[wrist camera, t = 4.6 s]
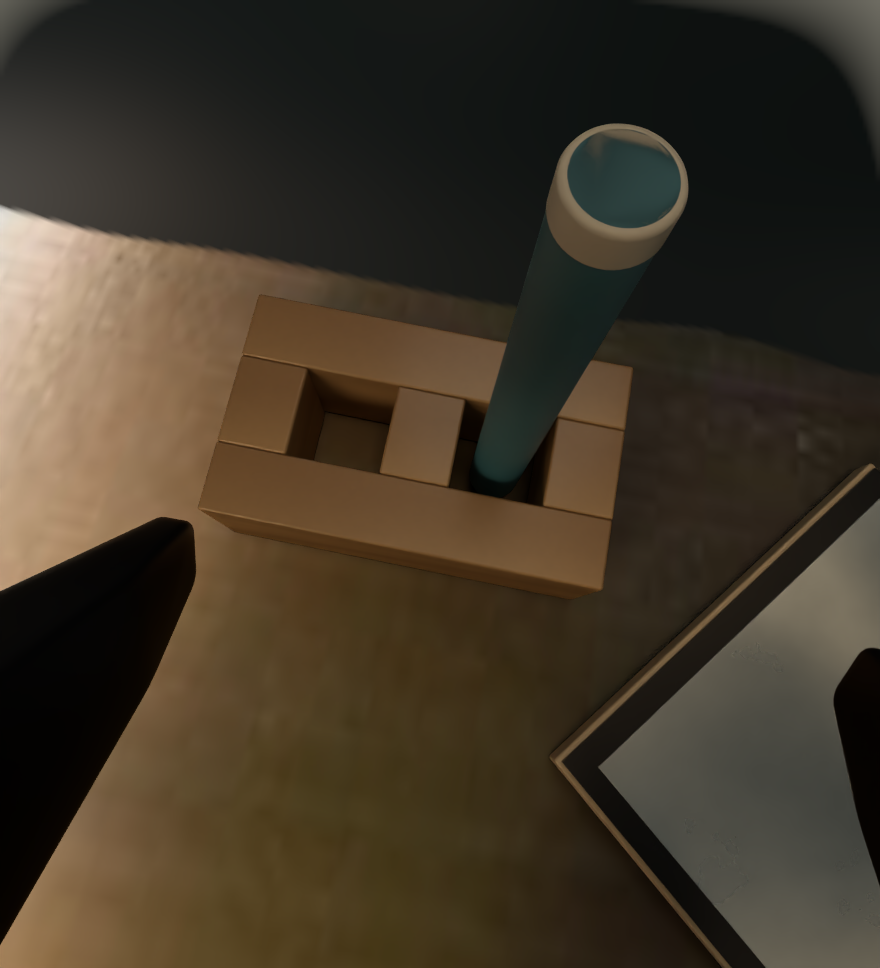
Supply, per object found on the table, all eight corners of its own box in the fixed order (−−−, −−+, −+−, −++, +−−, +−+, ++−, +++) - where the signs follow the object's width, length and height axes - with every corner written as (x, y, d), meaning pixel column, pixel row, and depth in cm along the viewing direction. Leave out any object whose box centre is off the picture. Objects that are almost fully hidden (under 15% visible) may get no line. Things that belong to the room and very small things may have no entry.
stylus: (487, 516, 21) (621, 263, 7) (456, 480, 21) (528, 168, 7) (522, 486, 21) (719, 186, 7) (492, 451, 21) (626, 96, 8)
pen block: (571, 600, 20) (603, 590, 17) (233, 531, 20) (196, 509, 17) (600, 411, 22) (634, 366, 18) (283, 348, 22) (258, 292, 18)
